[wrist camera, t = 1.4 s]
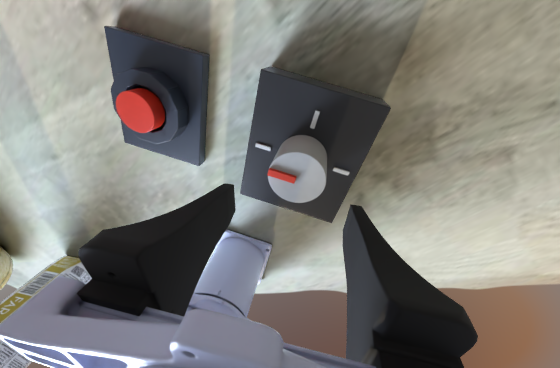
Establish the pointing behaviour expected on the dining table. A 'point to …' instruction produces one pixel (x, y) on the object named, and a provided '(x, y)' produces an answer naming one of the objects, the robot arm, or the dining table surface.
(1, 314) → the juice carton
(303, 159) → the timer knob
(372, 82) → the dining table surface
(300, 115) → the panel
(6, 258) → the cantaloupe
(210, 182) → the dining table surface
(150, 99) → the power button
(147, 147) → the button block
